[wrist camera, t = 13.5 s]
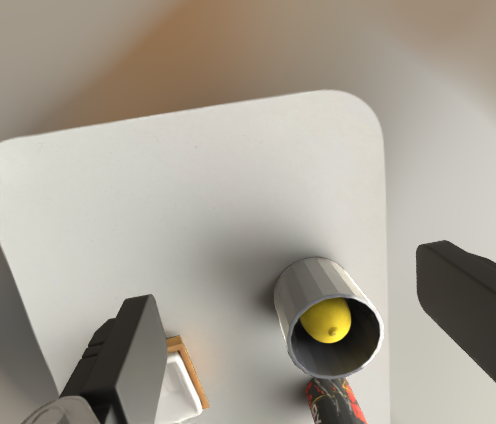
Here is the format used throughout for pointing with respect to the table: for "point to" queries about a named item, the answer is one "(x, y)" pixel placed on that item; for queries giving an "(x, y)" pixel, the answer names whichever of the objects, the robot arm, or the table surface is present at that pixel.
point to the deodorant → (333, 402)
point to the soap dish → (179, 387)
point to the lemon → (327, 320)
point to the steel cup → (311, 292)
